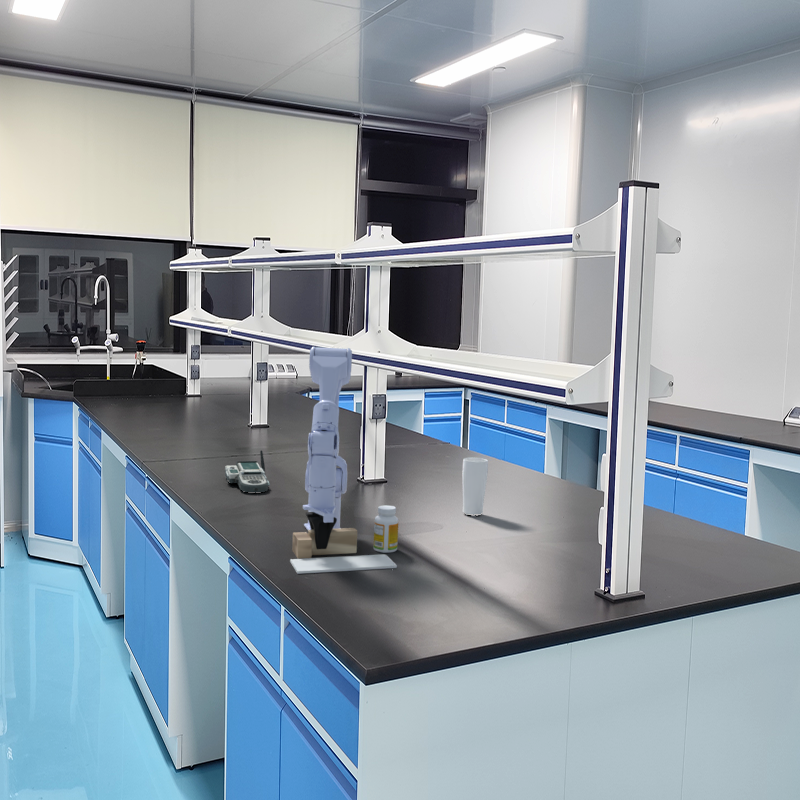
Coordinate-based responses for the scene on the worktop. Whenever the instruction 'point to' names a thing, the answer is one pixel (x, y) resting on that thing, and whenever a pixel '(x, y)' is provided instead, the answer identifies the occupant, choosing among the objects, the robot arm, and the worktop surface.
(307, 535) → the tan boxy piece
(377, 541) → the supplement bottle
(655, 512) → the worktop surface
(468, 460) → the drinking glass
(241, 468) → the communication device
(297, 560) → the grey mat
